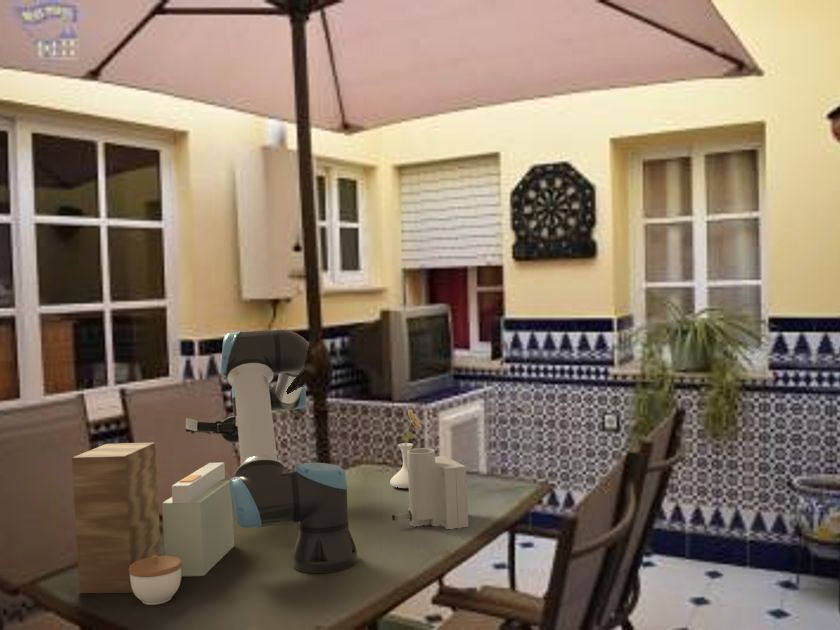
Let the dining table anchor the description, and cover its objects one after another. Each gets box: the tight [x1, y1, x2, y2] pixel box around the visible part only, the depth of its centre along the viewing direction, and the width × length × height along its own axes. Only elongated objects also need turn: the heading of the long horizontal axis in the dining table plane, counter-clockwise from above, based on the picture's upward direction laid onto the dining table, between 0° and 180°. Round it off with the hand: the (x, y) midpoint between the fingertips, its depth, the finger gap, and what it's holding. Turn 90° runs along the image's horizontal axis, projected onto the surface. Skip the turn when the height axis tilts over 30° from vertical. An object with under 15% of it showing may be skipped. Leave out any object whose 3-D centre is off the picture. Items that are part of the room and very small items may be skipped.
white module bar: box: [171, 462, 226, 503], centre depth 199 cm, size 25×4×4 cm, turn 175°
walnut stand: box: [71, 442, 162, 594], centre depth 186 cm, size 16×13×30 cm
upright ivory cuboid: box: [161, 479, 235, 577], centre depth 198 cm, size 22×9×17 cm, turn 175°
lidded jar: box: [129, 555, 182, 606], centre depth 173 cm, size 11×11×9 cm
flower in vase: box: [389, 408, 423, 489], centre depth 265 cm, size 13×11×25 cm
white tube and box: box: [391, 447, 469, 530], centre depth 221 cm, size 16×19×20 cm
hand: (211, 422), depth 216 cm, fingers open, 13 cm apart
